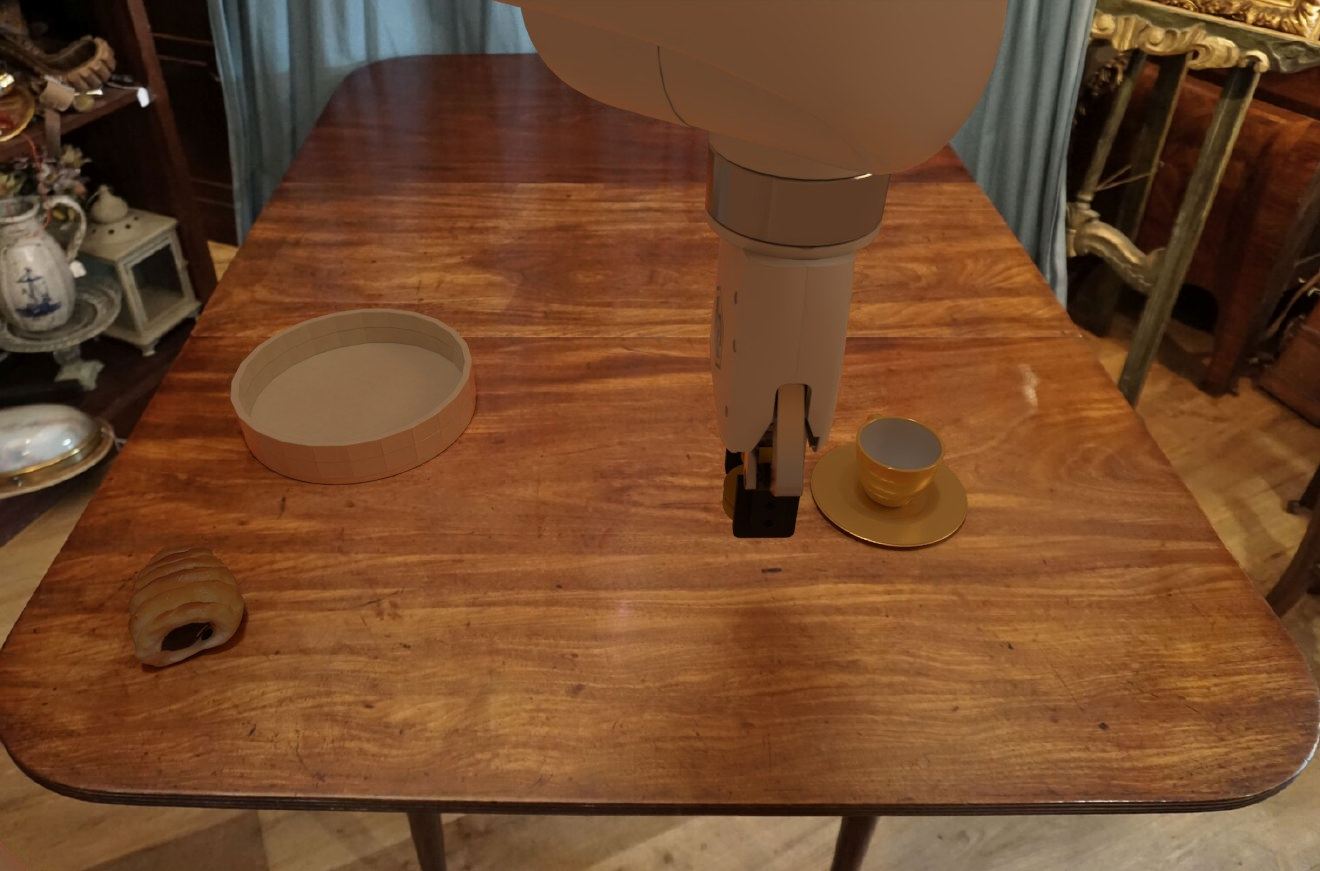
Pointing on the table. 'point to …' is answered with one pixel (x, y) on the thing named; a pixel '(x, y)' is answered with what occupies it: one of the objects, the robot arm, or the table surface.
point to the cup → (891, 484)
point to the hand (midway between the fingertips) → (757, 500)
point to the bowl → (355, 395)
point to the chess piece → (731, 479)
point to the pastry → (183, 605)
